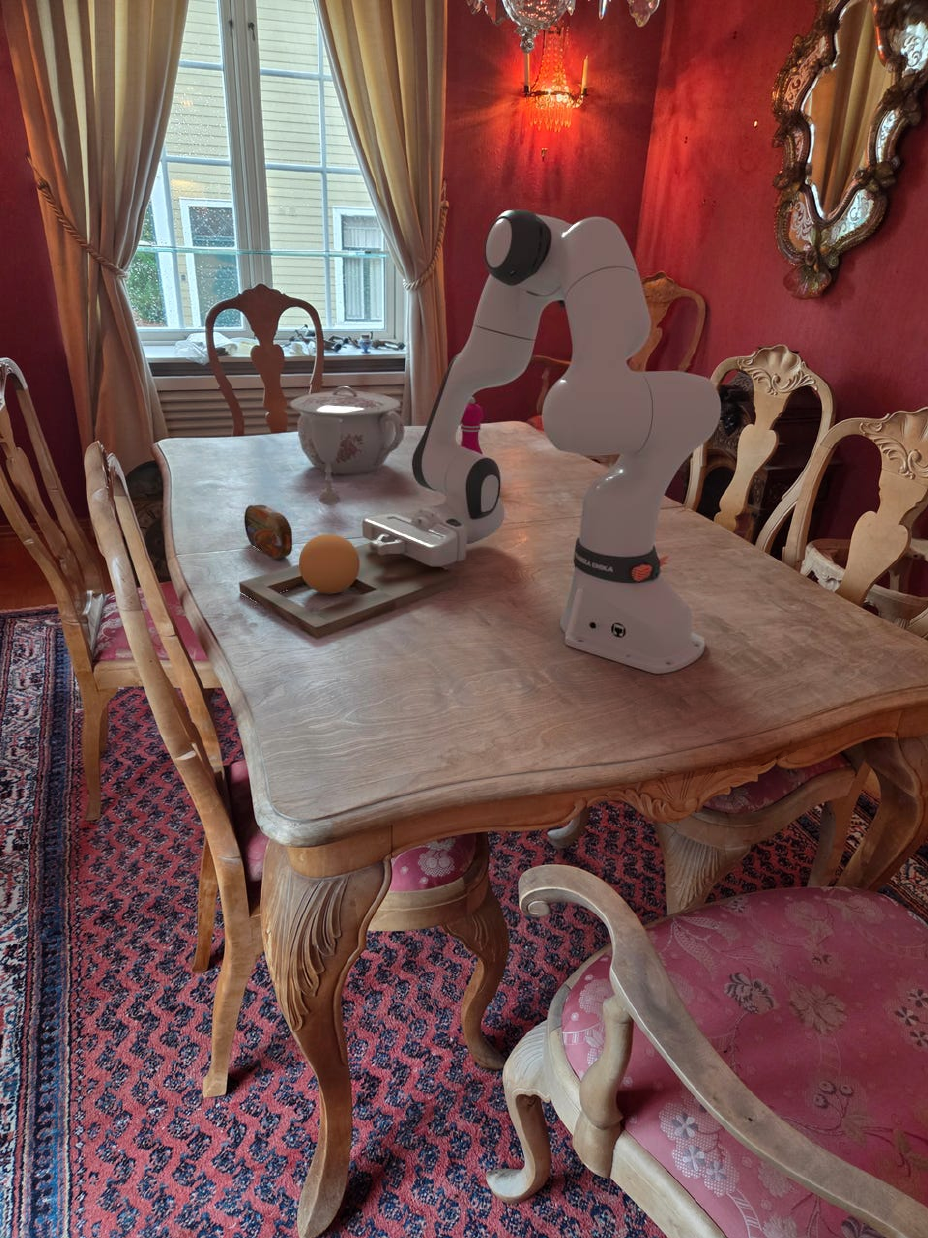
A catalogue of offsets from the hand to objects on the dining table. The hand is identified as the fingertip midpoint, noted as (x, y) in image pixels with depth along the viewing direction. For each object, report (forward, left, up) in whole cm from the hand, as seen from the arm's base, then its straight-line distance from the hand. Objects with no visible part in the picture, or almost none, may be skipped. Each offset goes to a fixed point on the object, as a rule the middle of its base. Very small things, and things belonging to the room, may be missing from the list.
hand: (374, 548), depth 132 cm
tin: (+24, +6, -6) cm, 26 cm away
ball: (+1, +9, -1) cm, 9 cm away
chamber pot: (+60, -40, -6) cm, 72 cm away
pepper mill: (+34, -58, -6) cm, 67 cm away
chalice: (+42, -21, -6) cm, 47 cm away
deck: (0, +4, -6) cm, 7 cm away
